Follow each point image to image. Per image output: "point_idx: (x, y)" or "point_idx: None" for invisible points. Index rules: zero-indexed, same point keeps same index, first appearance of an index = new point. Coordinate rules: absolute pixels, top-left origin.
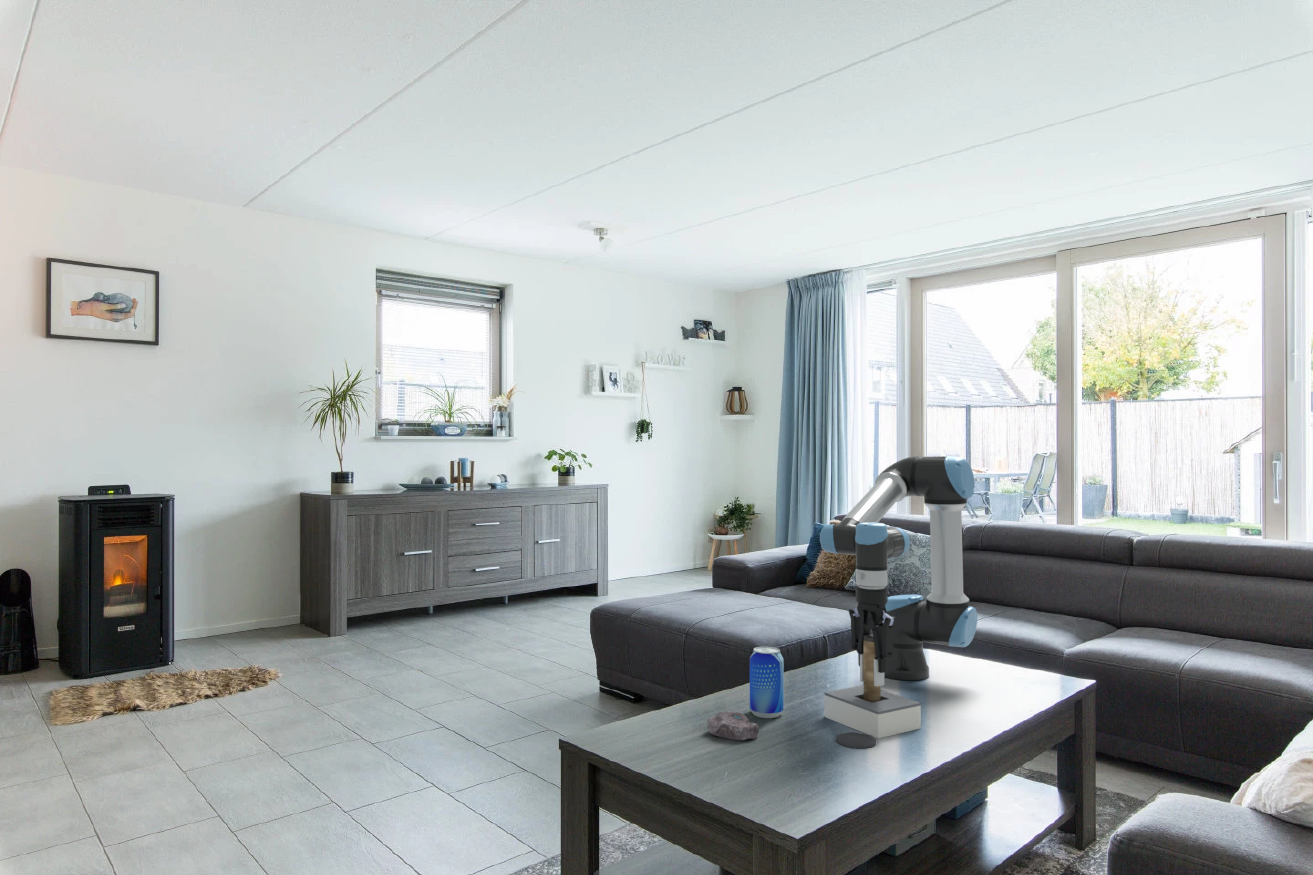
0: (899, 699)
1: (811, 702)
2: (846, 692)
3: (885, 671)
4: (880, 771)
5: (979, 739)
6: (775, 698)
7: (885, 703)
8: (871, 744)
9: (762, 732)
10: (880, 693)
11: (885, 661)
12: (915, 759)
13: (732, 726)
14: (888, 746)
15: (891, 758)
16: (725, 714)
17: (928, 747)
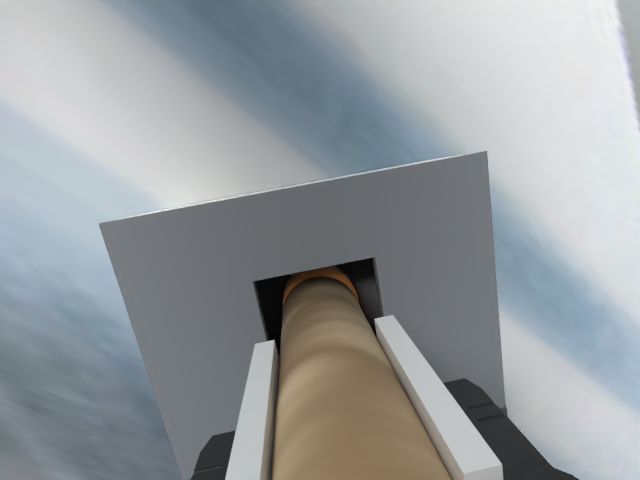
0: (399, 216)
1: (33, 368)
2: (213, 391)
3: (471, 383)
4: (630, 464)
5: (603, 36)
6: None
7: (425, 316)
8: (505, 410)
9: None
10: (354, 302)
11: (540, 460)
12: (620, 346)
13: None
14: (515, 358)
15: (584, 399)
16: None
17: (574, 256)
